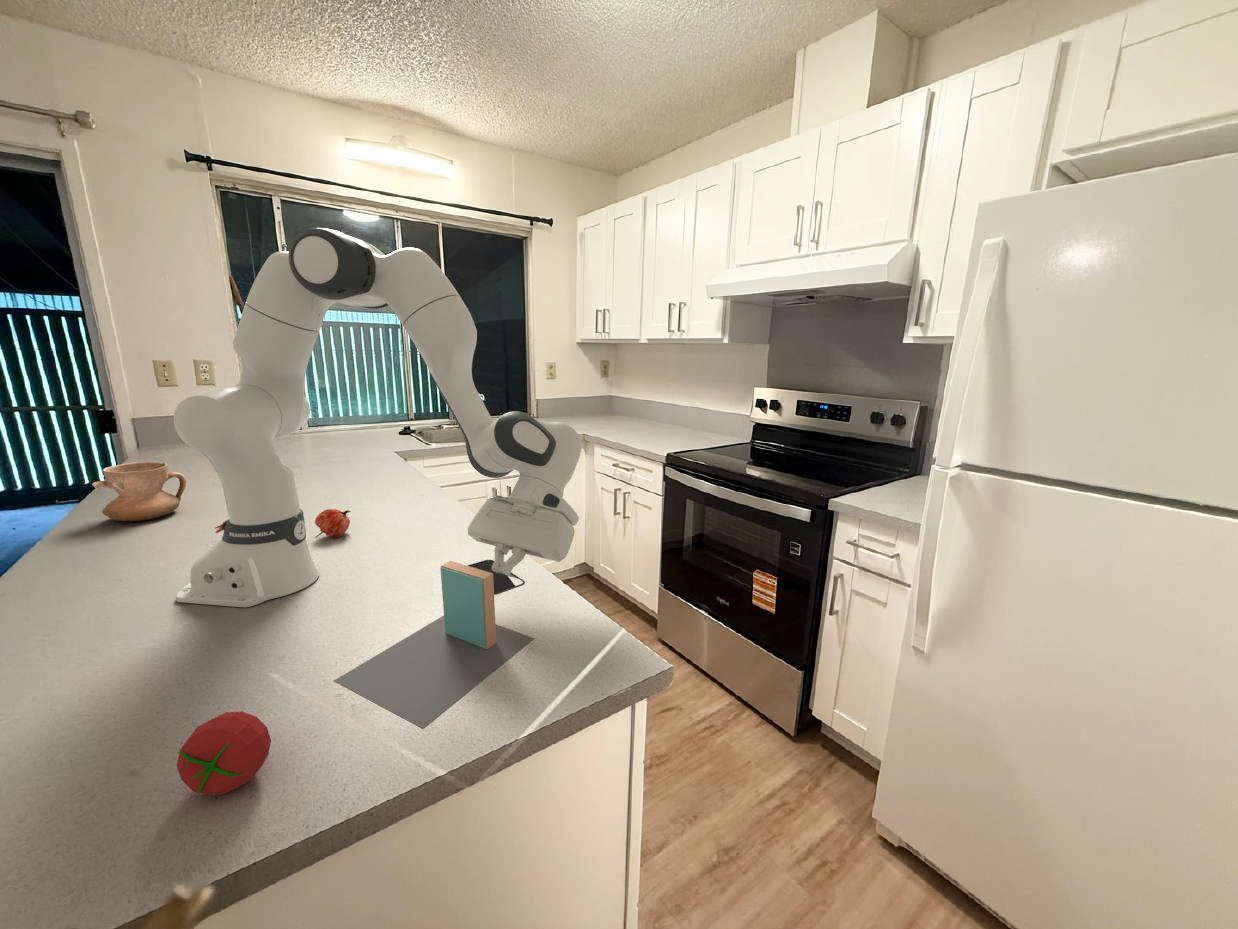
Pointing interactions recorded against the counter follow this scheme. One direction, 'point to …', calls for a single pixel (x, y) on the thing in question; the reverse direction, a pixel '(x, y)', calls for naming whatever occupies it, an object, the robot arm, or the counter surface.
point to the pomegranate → (332, 522)
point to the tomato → (223, 753)
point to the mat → (429, 671)
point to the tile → (468, 604)
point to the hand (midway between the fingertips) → (499, 572)
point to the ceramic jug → (140, 491)
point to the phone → (497, 576)
